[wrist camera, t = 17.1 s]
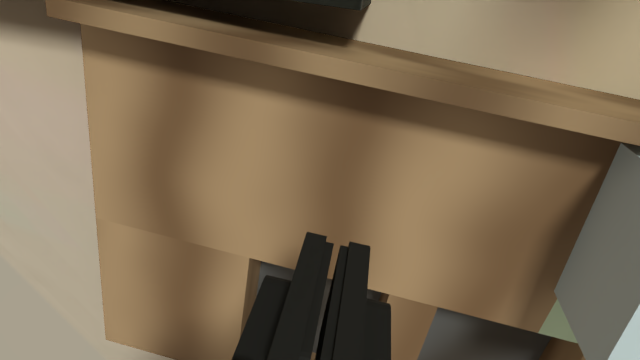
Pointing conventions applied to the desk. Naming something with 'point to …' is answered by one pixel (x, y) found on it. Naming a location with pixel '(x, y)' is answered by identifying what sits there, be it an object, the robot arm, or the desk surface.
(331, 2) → the portable cd player
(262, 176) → the board
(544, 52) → the desk surface
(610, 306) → the block
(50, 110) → the desk surface
